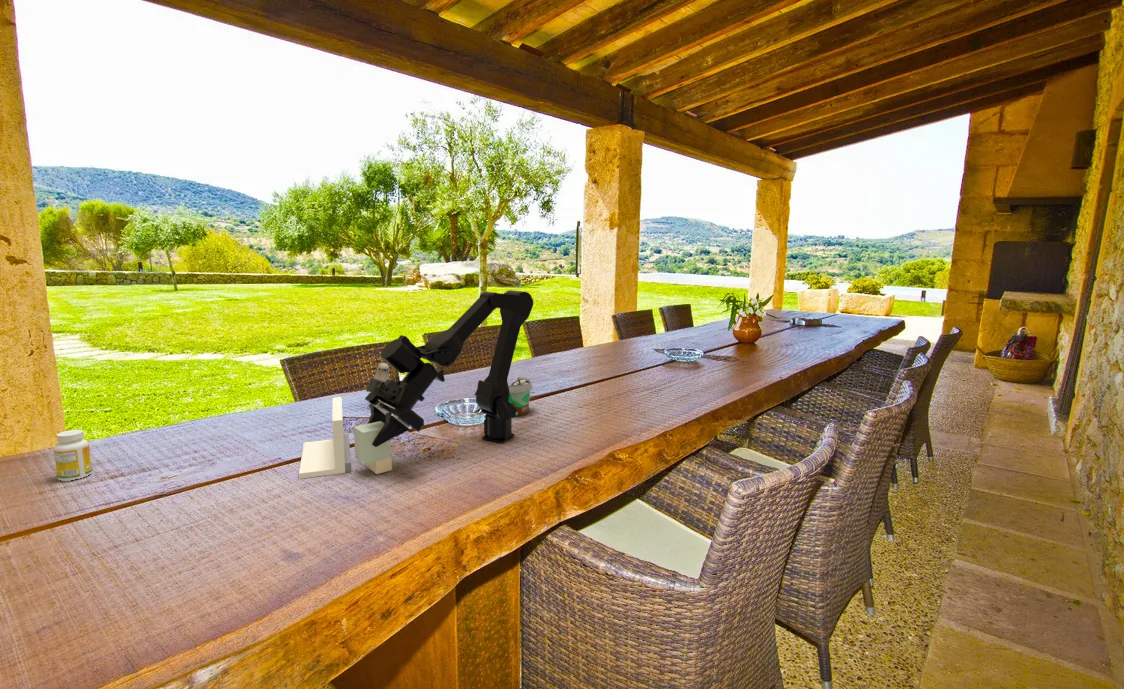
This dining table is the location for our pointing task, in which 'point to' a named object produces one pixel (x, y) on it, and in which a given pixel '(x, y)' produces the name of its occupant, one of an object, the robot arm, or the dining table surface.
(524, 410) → the food container
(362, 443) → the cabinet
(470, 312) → the robot arm
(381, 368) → the bird
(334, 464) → the cream l-shaped piece
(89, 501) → the dining table surface
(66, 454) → the supplement bottle
